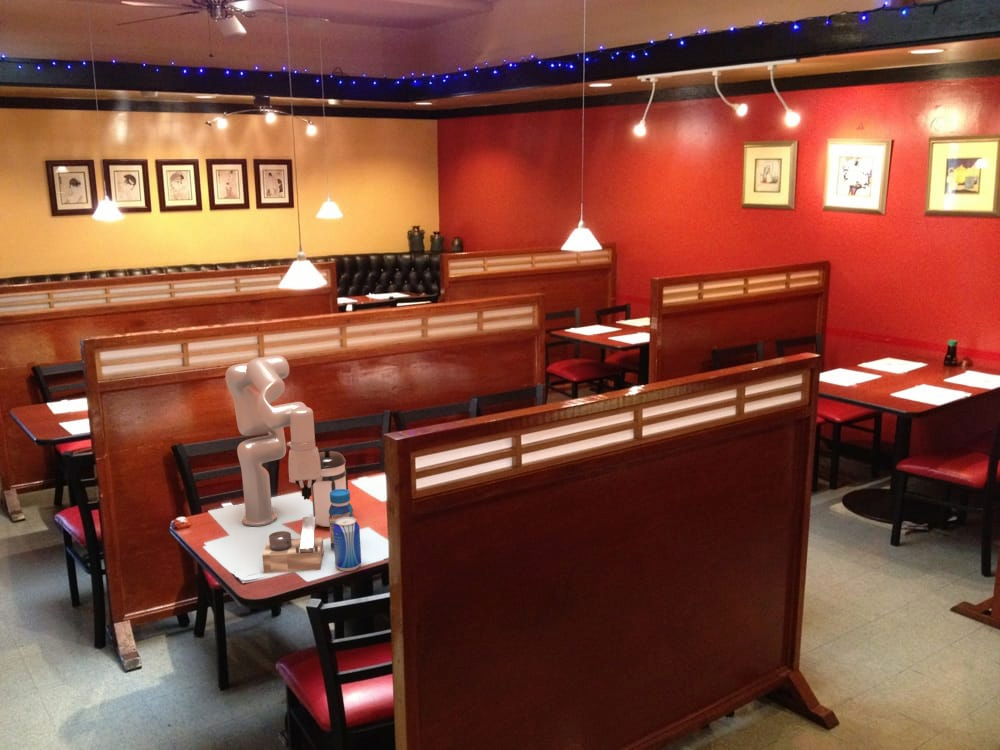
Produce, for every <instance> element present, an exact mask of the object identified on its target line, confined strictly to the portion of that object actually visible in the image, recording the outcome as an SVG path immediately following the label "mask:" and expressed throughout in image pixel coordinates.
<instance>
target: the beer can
mask: <svg viewBox="0 0 1000 750" xmlns="http://www.w3.org/2000/svg"><path fill="white" fill-rule="evenodd" d="M360 530H361V529H360V524H359V523H358V522H357V518H355V517H354V518H353V517H343V518H339V519H337V520H336V524H335V525H334V527H333V536H334V549H333V550H334V564H335V567H337V570H339V571H341V572H351V571H355V570H357V569H358V568H359V567H360V565H361V564H362V551H361V549H362V548H361V532H360Z"/></svg>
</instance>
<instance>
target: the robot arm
mask: <svg viewBox="0 0 1000 750" xmlns="http://www.w3.org/2000/svg"><path fill="white" fill-rule="evenodd" d="M289 375H290V366H289V362H288V360H287V359H286V358H285V357H284V356H282V355H278V354H277V355H270V356H269V355H267V356H263V357H256V358H253V359H251V360H249V361H247V362H243V363H238V364H234V365H231V366H229V367H228V368H227V370H226V371H225V382H226V386H227V389H228V390H229V393H230V394H231V397H232V400H233V405H234V411H235V412H234V413H235V417H236V424H237V429H238V431H239V432H238V433H239V434H241V435H242V436H253V435H259V434H264V433H268V435H264V436H257V437H253V438H248V439H245V440H244V441H242V442H240V443H239V444H238V445H237V449H236V451H237V457H238V461H239V464H240V469H241V478H242V490H243V501H244V512H245V515H244V516H242V517H241V523H242V524H243V525H245V526H246V527H262V526H267V525H270V524H272V523H274V522H275V521H276V520H277V518H278V516H277V513H275V512H273V507H272V495H271V494H272V493H271V483H270V474H269V471H268V470H267V469H266V468H265V467H264V466H263V464H265V463H268V462H272V461H277V460H280V459H283V458H284V457H285V455H286V453H287V447H290V449H289V452H288V482H289V483H294V484H296V485H298V486H299V487H300V489H301V497H303V500H307V501H308V500H310V498H311V497H312V485H313V484H314V483H315V482H318V481H321V480H322V475H321V463H320V456H319V453H320V452H319V448H318V446H316V437H315V423H314V422H315V421H314V418H315V417H314V411H313V409H312V408H311V407H308V406H307V405H306V404H305V403H304V402H302V401H294V402H288V403H283V404H278V405H271V403H273V402H274V401H276V400H278V398H279V397H281V396H282V395H283V393H284V392H285V388H286V385H285V382H284V380H283V379H286V378H287V377H288V376H289ZM252 386H255V388H256V390H257V392H259V395H257V393H256V391H254V389H252ZM287 427H289V428H290V430H289V431H290V441H287V442H286V437H285V431H284V428H287ZM305 481H307V484H306V482H305Z"/></svg>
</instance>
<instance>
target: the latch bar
mask: <svg viewBox="0 0 1000 750" xmlns="http://www.w3.org/2000/svg"><path fill="white" fill-rule="evenodd" d="M315 526H316V518H315V517H314V516H308V517H307V516H306V517H303V518H302V526H301V537H300V538H301V547H300V553H304V552H313V547H314V538H315V532H316V528H315Z"/></svg>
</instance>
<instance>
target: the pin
mask: <svg viewBox="0 0 1000 750" xmlns="http://www.w3.org/2000/svg"><path fill="white" fill-rule="evenodd" d="M291 539H292V533H291V532H289V531H286V530H280V531H275V532H272V533H271V534H269V536H268V540H269V543H270V550H272V551H285V550H288V549H290V548H291V547H292V542H291Z"/></svg>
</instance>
